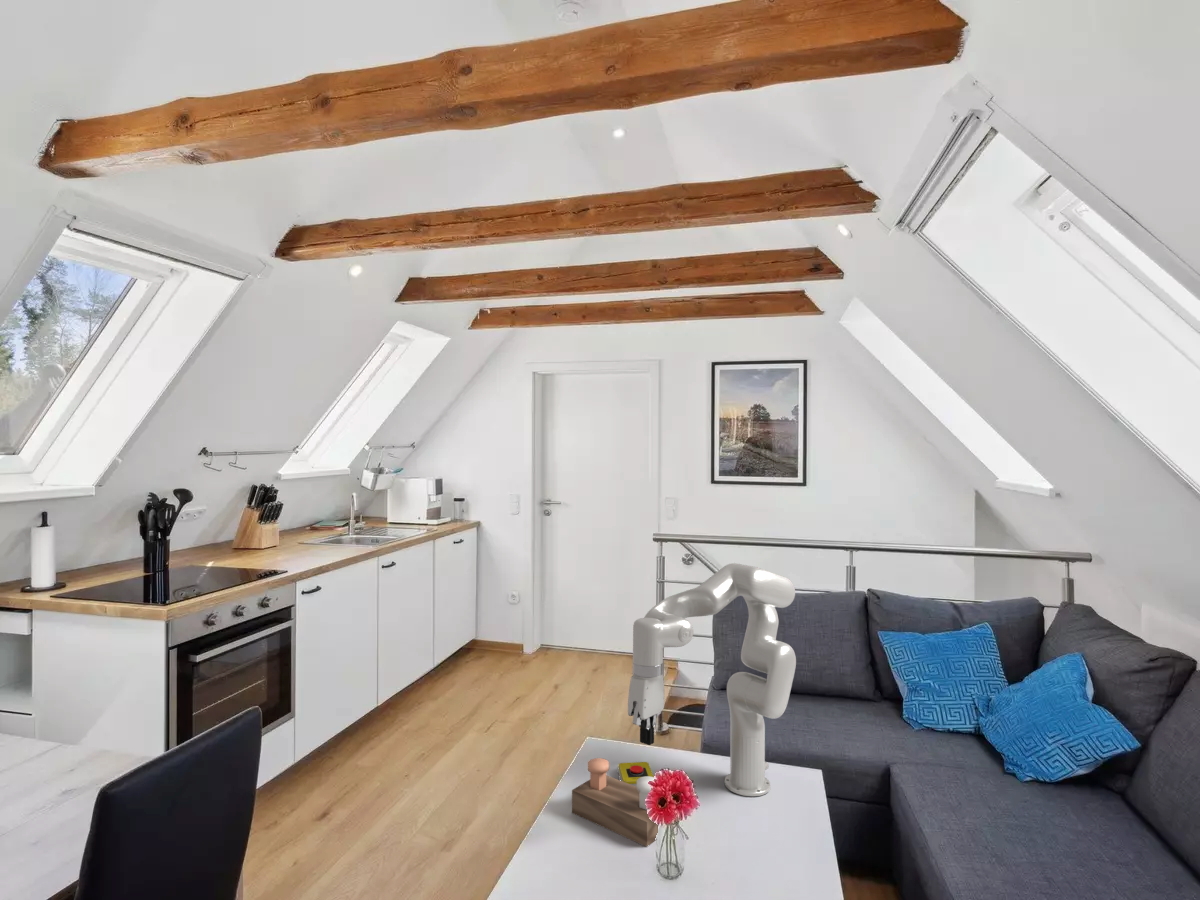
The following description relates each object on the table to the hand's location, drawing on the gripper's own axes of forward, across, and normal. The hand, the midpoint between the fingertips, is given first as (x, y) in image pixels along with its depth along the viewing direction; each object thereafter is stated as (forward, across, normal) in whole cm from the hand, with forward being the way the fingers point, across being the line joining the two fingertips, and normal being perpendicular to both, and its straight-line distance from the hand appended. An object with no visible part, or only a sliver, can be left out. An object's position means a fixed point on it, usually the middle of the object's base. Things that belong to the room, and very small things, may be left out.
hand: (646, 742), depth 169 cm
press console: (+22, -1, -8) cm, 23 cm away
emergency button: (+22, -20, -17) cm, 34 cm away
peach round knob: (+18, -1, -16) cm, 24 cm away
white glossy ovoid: (+18, -1, 0) cm, 18 cm away
